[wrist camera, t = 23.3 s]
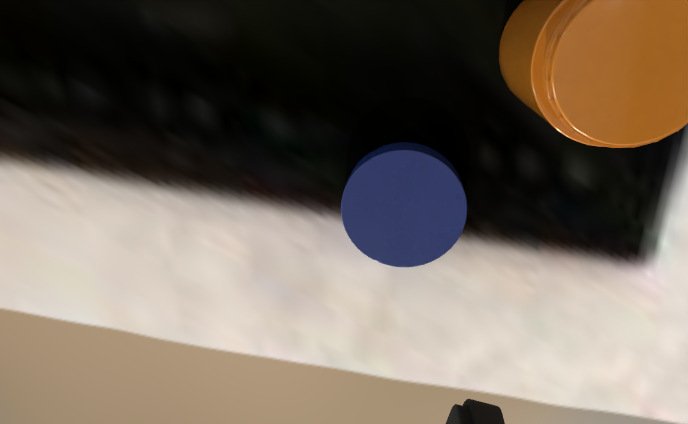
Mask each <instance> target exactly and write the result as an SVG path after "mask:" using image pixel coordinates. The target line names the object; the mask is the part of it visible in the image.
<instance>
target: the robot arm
mask: <svg viewBox="0 0 688 424" xmlns="http://www.w3.org/2000/svg"><path fill="white" fill-rule="evenodd" d="M446 424H505V423H504V419H503V415H502V412H501V409H500V408H499V407H498V406H495V405H491V404H487V403H483V402H479V401H475V400H471V399H467V400H466V401H465V402H464V404H463V406H461V405H457V404H455V405H454V406H453V407H452V409H451V412H450V414H449V417H448V419H447V422H446Z"/></svg>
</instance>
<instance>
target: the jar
mask: <svg viewBox="0 0 688 424" xmlns="http://www.w3.org/2000/svg"><path fill="white" fill-rule="evenodd" d="M499 62H500V68H501V72H502V75H503V77H504V80H505V82H506V84H507V85H508V87H509V88H510V90H511V91H512V92H513V93H514V94H515V95H516V96H517V97H518V98H519V99H520V100H521V101H523V102H524V103H525V104H526V105H527V106H529V107H530V108H531V109H532V110H533V111H535V112H536V113H537V114H538V115H540V116H541V117H542V118H543V119H544V120H546V121H547V122H548V123H549V124H551V125H552V126H553V127H554V128H555V129H557V130H558V131H559V132H561V133H562V134H564V135H565V136H567V137H569V138H571V139H573V140H575V141H577V142H581V143H584V144H587V145H593V146H601V147H611V148H620V147H637V146H641V145H645V144H649V143H652V142H657V141H659V140H661V139H663V138H665V137H666V136H668V135H670V134H672V133H674V132H676V131H678V130H680V129H681V128H682V127H683V126H685V125H686V124H687V123H688V0H524V1H523V2H522V3H521V4H520V5H519V6H518V7H517V9H516V10H515V11H514V12H513V14H512V15H511V17H510V18H509V20H508V22H507V24H506V26H505V28H504V31H503V34H502V37H501V41H500V48H499Z"/></svg>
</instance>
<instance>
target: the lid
mask: <svg viewBox="0 0 688 424" xmlns="http://www.w3.org/2000/svg"><path fill="white" fill-rule="evenodd" d="M341 216H342V221H343V224H344V227H345V230H346V232H347V234H348V236H349V238H350V239H351V241H352V242H353V243H354V244H355V246H356V247H357V248H358V249H359V250H360V251H362V252H363V253H364V254H365V255H367V256H368V257H370V258H371V259H373V260H375V261H377V262H380V263H382V264H385V265H390V266H395V267H414V266H419V265H423V264H426V263H429V262H432V261H433V260H435V259H437V258H439V257H440V256H442V255H443V254H445V253H446V252H447V251H448V250H449V249H450V248H451V247H452V246H453V245H454V244H455V243H456V241H457V240H458V238H459V237H460V235H461V233H462V231H463V229H464V225H465V222H466V217H467V200H466V195H465V192H464V188H463V185H462V181H461V179H460V177H459V174H458V173H457V171H456V169H455V168H454V166H453V165H452V164H451V163H450V161H448V160H447V159H446V158H445V157H444V156H443V155H442V154H440V153H439V152H437V151H435V150H434V149H432V148H430V147H427V146H424V145H421V144H417V143H409V142H398V143H392V144H388V145H384V146H382V147H379V148H377V149H375V150H373V151H372V152H370V153H368V154H367V155H366V156H365V157H363V158H362V159H361V160H360V161H359V162H358V163H357V165H356V166H355V167H354V169H353V170H352V172H351V174H350V176H349V178H348V181H347V184H346V186H345V189H344V192H343V196H342V201H341Z"/></svg>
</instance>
